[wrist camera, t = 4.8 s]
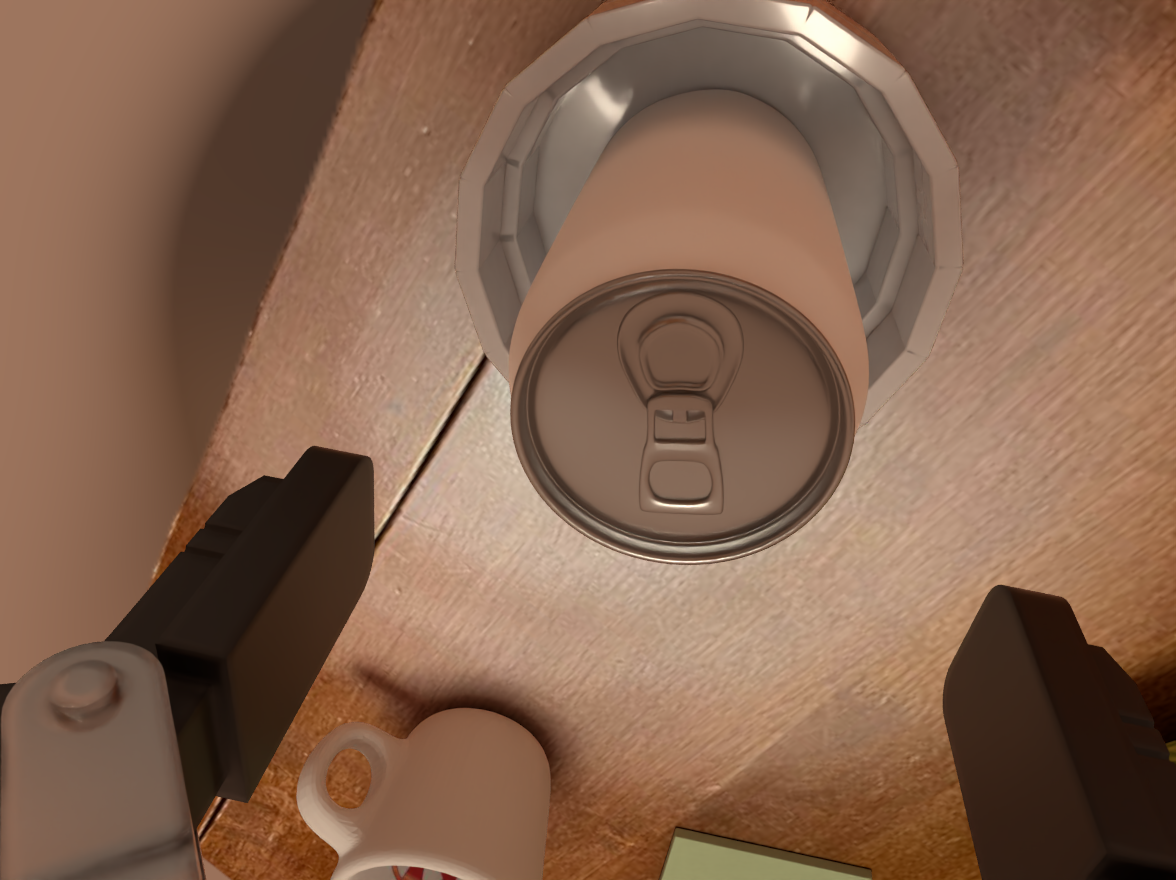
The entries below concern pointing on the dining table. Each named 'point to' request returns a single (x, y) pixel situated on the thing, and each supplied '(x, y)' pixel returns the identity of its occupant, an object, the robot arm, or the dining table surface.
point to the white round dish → (753, 67)
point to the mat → (746, 862)
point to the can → (692, 339)
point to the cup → (436, 800)
